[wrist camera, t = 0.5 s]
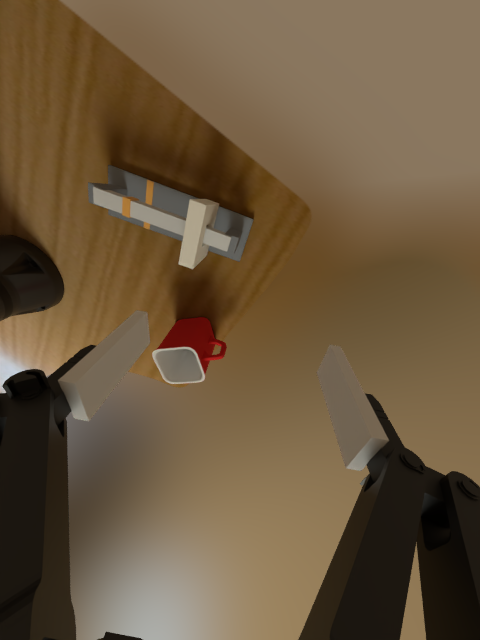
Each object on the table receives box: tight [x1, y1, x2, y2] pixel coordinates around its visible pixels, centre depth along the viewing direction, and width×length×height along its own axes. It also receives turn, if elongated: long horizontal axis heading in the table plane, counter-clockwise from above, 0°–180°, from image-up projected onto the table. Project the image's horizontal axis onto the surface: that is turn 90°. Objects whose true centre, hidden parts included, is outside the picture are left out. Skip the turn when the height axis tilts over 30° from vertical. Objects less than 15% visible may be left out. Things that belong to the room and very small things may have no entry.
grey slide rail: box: [88, 165, 253, 262], centre depth 31 cm, size 23×7×7 cm, turn 72°
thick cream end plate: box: [179, 199, 219, 269], centre depth 30 cm, size 2×8×8 cm, turn 162°
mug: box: [152, 317, 227, 384], centre depth 41 cm, size 12×8×11 cm
